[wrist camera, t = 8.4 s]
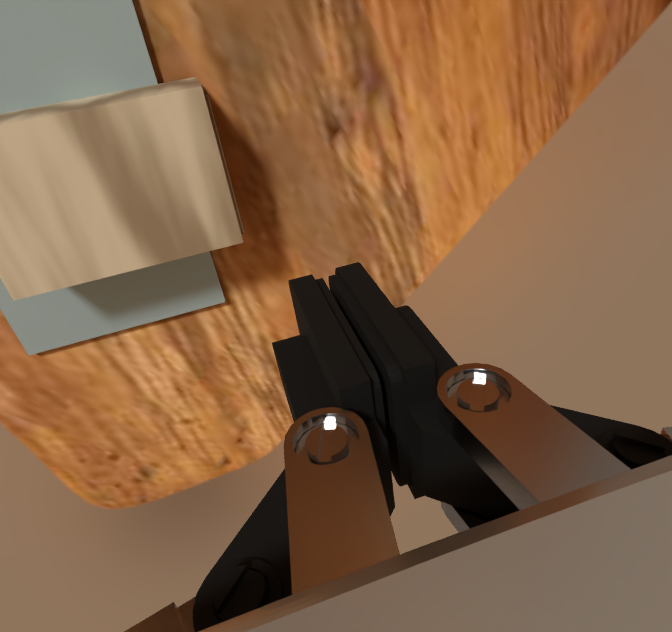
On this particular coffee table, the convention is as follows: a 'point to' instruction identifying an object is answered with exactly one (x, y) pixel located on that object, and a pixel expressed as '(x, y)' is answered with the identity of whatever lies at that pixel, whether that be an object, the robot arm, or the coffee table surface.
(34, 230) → the birch block
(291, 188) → the coffee table surface
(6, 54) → the grey mat
